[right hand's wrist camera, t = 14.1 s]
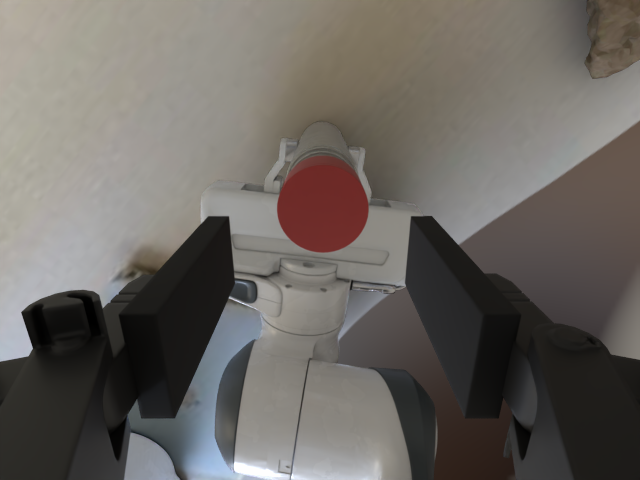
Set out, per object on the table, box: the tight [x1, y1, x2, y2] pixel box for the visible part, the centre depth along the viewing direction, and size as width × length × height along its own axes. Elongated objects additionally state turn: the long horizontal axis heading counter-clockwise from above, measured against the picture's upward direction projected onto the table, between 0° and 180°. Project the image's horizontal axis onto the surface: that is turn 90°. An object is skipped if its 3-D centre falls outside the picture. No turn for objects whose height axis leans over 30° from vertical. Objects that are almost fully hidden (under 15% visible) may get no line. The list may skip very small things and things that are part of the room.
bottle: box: [286, 121, 359, 177], centre depth 28 cm, size 4×4×23 cm
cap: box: [277, 156, 369, 253], centre depth 19 cm, size 4×4×3 cm
